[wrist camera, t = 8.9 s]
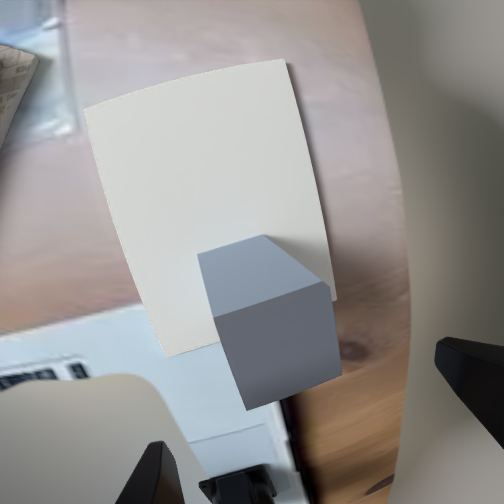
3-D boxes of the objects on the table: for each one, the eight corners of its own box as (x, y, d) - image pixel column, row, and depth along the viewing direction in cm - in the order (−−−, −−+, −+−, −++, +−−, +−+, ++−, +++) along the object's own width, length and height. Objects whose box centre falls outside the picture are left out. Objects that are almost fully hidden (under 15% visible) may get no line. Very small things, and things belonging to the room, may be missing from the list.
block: (277, 294, 20) (342, 374, 12) (216, 314, 20) (246, 410, 11) (262, 234, 19) (329, 286, 11) (196, 254, 19) (215, 325, 10)
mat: (333, 296, 22) (337, 299, 22) (166, 352, 20) (166, 357, 20) (281, 61, 17) (284, 58, 17) (86, 111, 16) (83, 109, 15)
